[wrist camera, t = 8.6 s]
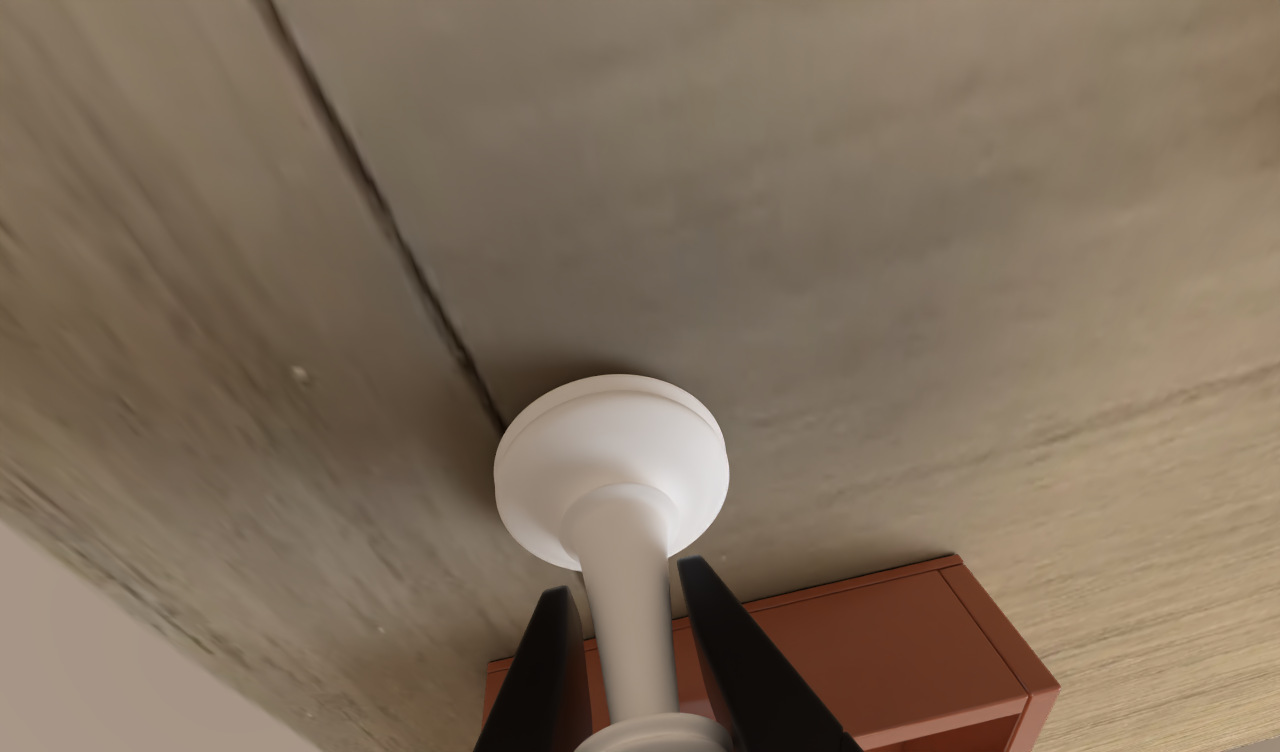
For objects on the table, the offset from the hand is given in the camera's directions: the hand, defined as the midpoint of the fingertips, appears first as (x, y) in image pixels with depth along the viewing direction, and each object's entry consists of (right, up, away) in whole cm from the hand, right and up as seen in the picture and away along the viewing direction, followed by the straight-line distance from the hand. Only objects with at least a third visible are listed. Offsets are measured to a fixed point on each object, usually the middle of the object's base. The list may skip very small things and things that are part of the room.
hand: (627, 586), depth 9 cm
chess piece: (0, +2, +3) cm, 3 cm away
